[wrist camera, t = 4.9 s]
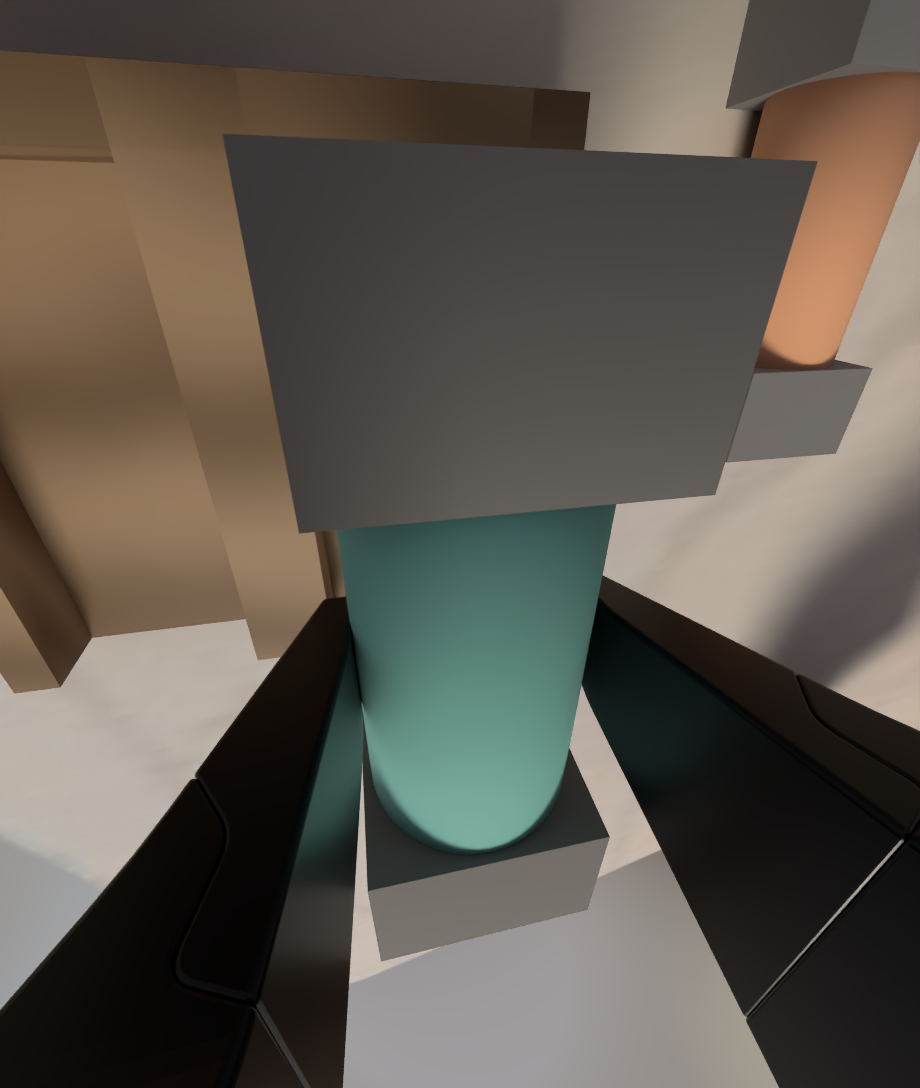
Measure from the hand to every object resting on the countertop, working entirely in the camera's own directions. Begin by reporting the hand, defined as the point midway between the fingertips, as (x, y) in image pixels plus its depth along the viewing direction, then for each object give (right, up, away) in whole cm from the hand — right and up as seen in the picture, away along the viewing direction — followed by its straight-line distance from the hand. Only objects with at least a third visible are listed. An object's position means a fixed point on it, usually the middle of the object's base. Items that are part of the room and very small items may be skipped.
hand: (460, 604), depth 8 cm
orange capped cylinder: (+9, +10, +7) cm, 15 cm away
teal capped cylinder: (0, +1, +1) cm, 1 cm away
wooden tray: (-6, +5, +6) cm, 10 cm away
